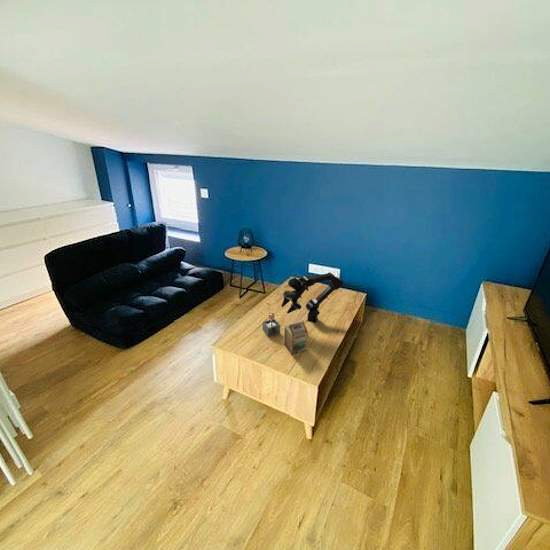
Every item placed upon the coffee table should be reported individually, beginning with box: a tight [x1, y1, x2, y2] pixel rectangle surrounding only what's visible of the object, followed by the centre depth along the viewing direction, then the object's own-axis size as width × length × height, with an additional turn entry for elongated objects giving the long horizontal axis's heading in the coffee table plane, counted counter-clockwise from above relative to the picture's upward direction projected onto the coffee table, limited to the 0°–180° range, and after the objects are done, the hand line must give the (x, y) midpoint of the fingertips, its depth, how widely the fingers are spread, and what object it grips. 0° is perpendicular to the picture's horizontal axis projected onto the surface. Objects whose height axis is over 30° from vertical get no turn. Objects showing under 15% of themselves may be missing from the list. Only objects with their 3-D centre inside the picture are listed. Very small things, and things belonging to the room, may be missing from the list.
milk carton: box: [283, 320, 309, 356], centre depth 183 cm, size 11×11×19 cm
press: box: [262, 318, 281, 337], centre depth 200 cm, size 9×11×6 cm
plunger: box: [266, 312, 276, 327], centre depth 198 cm, size 7×7×9 cm
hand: (284, 309), depth 203 cm, fingers open, 9 cm apart
